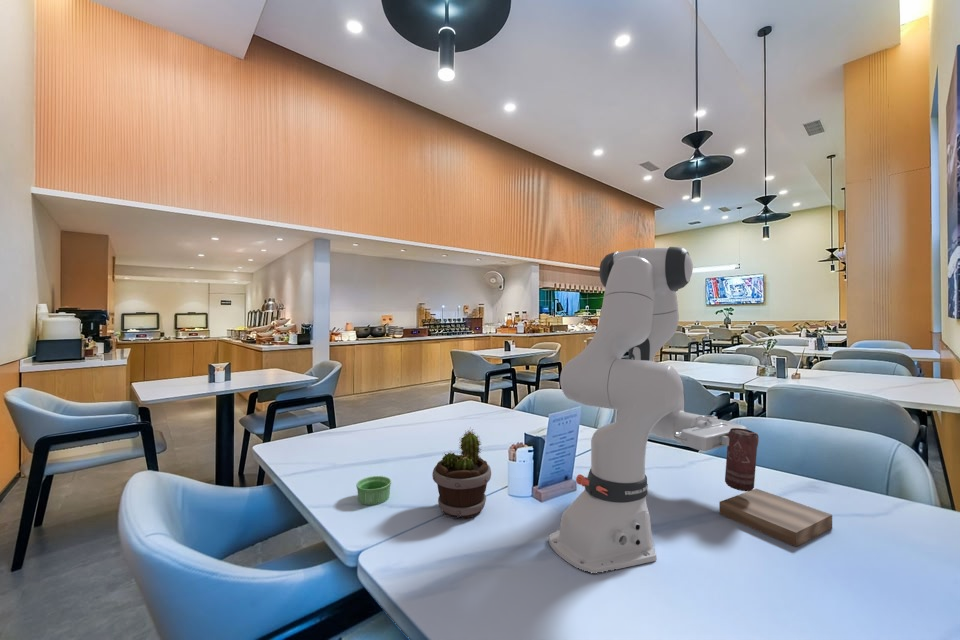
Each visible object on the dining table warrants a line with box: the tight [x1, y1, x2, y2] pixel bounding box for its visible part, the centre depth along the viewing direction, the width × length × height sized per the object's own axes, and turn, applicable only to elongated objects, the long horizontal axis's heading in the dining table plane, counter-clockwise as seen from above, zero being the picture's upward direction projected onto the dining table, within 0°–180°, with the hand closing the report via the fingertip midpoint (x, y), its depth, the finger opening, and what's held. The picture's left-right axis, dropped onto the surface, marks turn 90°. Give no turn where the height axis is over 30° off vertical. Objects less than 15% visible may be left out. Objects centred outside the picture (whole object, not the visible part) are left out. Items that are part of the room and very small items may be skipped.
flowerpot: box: [431, 426, 492, 520], centre depth 100 cm, size 14×15×20 cm
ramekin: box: [356, 475, 392, 506], centre depth 107 cm, size 9×9×4 cm
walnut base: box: [718, 488, 833, 548], centre depth 94 cm, size 16×16×3 cm
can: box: [724, 428, 759, 492], centre depth 100 cm, size 6×6×14 cm
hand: (747, 444), depth 98 cm, fingers closed, pressing on can
